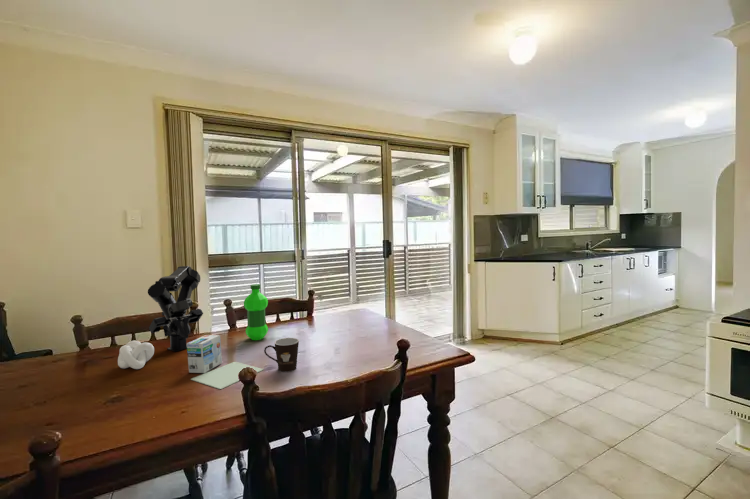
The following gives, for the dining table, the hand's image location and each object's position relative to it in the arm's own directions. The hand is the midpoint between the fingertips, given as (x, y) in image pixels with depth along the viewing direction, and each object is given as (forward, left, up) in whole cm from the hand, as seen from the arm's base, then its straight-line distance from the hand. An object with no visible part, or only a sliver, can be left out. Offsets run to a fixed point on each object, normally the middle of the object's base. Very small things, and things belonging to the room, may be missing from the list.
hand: (187, 337), depth 139 cm
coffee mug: (+35, +14, -10) cm, 39 cm away
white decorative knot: (-15, -11, -10) cm, 21 cm away
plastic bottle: (-1, +34, -10) cm, 36 cm away
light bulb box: (+10, 0, -10) cm, 14 cm away
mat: (+22, 0, -10) cm, 25 cm away
